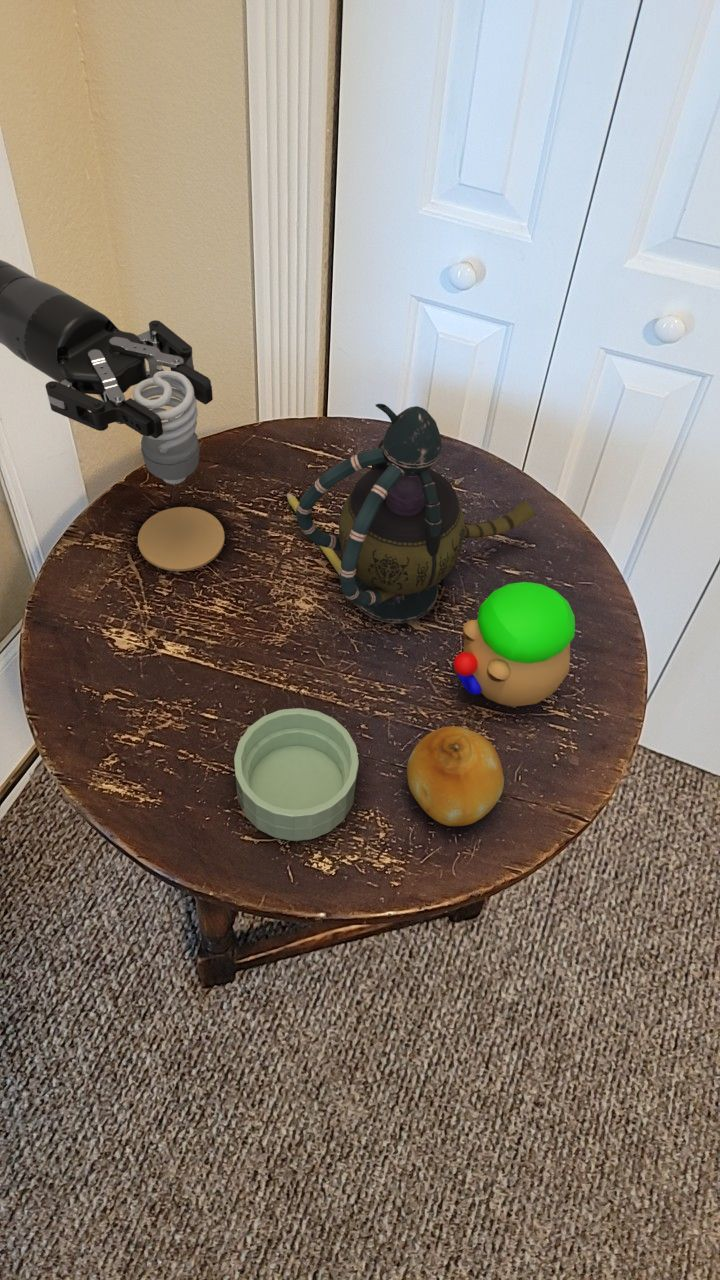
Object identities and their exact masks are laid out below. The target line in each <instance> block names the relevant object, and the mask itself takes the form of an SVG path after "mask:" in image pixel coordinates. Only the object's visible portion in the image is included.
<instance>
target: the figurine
mask: <svg viewBox="0 0 720 1280" xmlns="http://www.w3.org/2000/svg"><path fill="white" fill-rule="evenodd" d="M477 613H478V614H477V618H476V619H471V620H468V621H466V622H465V623H464V624H463V626H462V627H463V628H462V633H461V634H462V636H463V638H464V639H463V649H462V650H463V652H460V653H458V654H457V655H456V656H455V657H454V659H453V669H454V671H455V672H456V674H457V677H458V679H459V681H460V682H461V685H462V686H463V687H464V689H465V690H466V691H467V692H468V693H469V694H471V695H474V696H476V695H477V696H478V695H480V694H482V695H483V697H485V698H486V699H487V700H490V701H492V702H494V703H496V704H499V705H503V706H507V707H510V708H515V707H522V706H524V707H525V706H530V705H531V706H532V705H536V704H538V703H540V702H542V701H543V700H545V699H547V698H548V697H550V696H552V695H553V694H554V693H555V692H556V690H557V689H558V688H559V687H560V685H561V684H562V683H563V681H564V680H565V678H566V677H567V676H568V674H569V673H570V668H571V667H570V664H571V642H572V641H573V639H574V638H575V637H576V636H575V635H576V620H575V614H574V612H573V610H572V607H571V605H570V603H569V601H568V600H567V599H566V598H565V597H564V596H563V595H561V594H560V592H558V591H557V590H555V589H554V588H551V587H548V586H547V585H544V584H542V583H536V582H529V581H520V582H513V583H507V584H505V585H503V586H501V587H500V588H497V589H496V590H493V591H492V592H491V593H490V594H489V596H487V598H486V599H485V600H484V601H483V603H482V604H480V605H479V607H478V612H477Z"/></svg>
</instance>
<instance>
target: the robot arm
mask: <svg viewBox="0 0 720 1280" xmlns="http://www.w3.org/2000/svg"><path fill="white" fill-rule="evenodd" d="M148 327H149V329H148V330H147V331H145V332H142V333H139V334H138V335H137V334H135V333H133V332H129V331H124V330H120V329H119V328H118V327H117V326H116V325H115V324H114V323H113V321H112V320H111V319H110V318H109V317H108V316H106V315H105V314H104V313H102V312H100V311H98V310H97V309H95V308H93V307H92V306H90V305H88V304H86V303H84V302H83V301H81V300H79V299H77V298H76V297H74V296H72V295H71V294H69V293H67V292H65V291H64V290H62V289H60V288H58V287H57V286H54V285H53V284H50V283H47V282H45V281H42V280H39V279H37V278H35V277H34V276H32V275H31V274H29V273H27V272H25V271H23V270H21V269H20V268H19V267H17V266H15V265H13V264H11V263H10V262H7V261H6V260H2V259H0V344H1V345H3V346H4V347H6V349H8V350H9V351H10V352H11V353H12V354H13V355H15V356H16V357H17V358H19V359H20V360H22V361H24V362H25V363H27V364H29V366H32V367H33V368H35V369H36V370H38V371H40V372H41V373H43V374H44V375H46V376H48V377H49V378H51V379H52V381H51V380H50V381H48V382H46V383H45V391H46V394H47V398H48V402H49V407H50V410H51V411H52V412H54V413H57V414H59V415H61V416H63V417H66V418H68V419H71V420H73V421H75V422H77V423H79V424H82V425H84V426H86V427H89V428H91V429H93V430H96V431H100V432H103V431H106V430H107V429H108V428H109V425H110V424H113V423H116V424H118V425H125V426H127V427H128V428H130V429H132V430H133V431H135V432H136V433H138V434H140V435H141V436H143V435H144V436H152V437H153V438H158V437H159V436H161V435H162V434H163V429H162V422H163V421H161V418H160V417H159V416H158V415H157V414H156V413H154V412H153V411H151V410H152V409H148V408H146V407H144V406H143V405H141V404H139V403H138V402H136V401H135V400H134V398H131V397H129V398H128V399H126V396H125V395H124V393H126V392H127V391H128V390H129V389H130V388H131V387H133V386H136V385H137V384H139V383H140V382H141V381H144V380H146V379H149V378H153V376H154V374H156V373H157V372H159V371H165V370H164V368H163V367H167V368H169V369H170V371H175V372H178V373H181V374H183V375H184V376H185V377H186V378H187V379H188V380H189V381H190V382H191V384H192V386H193V388H194V395H195V397H196V401H198V402H200V403H201V404H203V405H208V404H209V403H211V402H212V401H213V399H214V397H213V386H212V380H211V379H210V378H209V377H208V376H207V375H205V374H203V373H201V372H200V371H198V370H196V369H195V365H194V358H193V347H192V346H191V345H190V344H189V343H188V342H186V341H185V340H184V339H182V337H180V336H179V335H178V334H176V333H175V332H174V331H173V330H172V329H170V328H169V327H168V326H166V325H165V324H164V323H163V322H162V321H160V320H157V319H155V320H151V321H150V322H148ZM146 361H147V363H148V370H147V364H146ZM155 387H158V386H157V385H156V386H155ZM91 395H97V397H99V398H96V397H94V396H91Z"/></svg>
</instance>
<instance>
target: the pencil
mask: <svg viewBox="0 0 720 1280" xmlns="http://www.w3.org/2000/svg"><path fill="white" fill-rule="evenodd" d="M285 494H286V498H287V502H288V504H289V506H290V507H291V508H292V510H293V512H294V513H296V510H297V507H298V504H299V502H300V501H299V500H298V499H297V498H296V496H294V495H293V494H291V493H289V491H287V490H285ZM315 526H316V524H315ZM316 527H317V526H316ZM317 529H319V528H318V527H317ZM318 547H319V548H320V549H321V551H322V553H323V554H324V555H325V557H326V558H327V560H328V561H329V562H330V564H331V566H332V567H333V568H334V570H335V571H336V573H337V574H338V576H339V577H340V569H341V561H342V560H341V559H340V558H339V556H338V555H337V553H336V552H335V550H333V549H330V548H326V547H323V546H319V545H318Z"/></svg>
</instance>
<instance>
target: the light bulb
mask: <svg viewBox="0 0 720 1280" xmlns="http://www.w3.org/2000/svg"><path fill="white" fill-rule="evenodd" d="M156 385H157V386H156ZM155 396H157V397H155ZM132 399H133V400H135V401H136V402H138V403H139V404H141V405H143V406H144V407H146V408H148V409H149V410H151V411H153V412H154V413H156V414H157V415H158V416H159V417H160V418H161V421H162V429H163V434H162V435H161V436H159V437H158V438H153V437H152V436H144V435H142V437H141V441H140V447H141V448H140V451H141V453H142V458H143V461H144V464H145V468H146V470H147V471H148V472H149V473H150V474H152V476H154V477H156V478H158V479H161V480H162V481H163V482H165V483H166V484H168V485H178V484H181V483H183V482H184V481H185V480H186V479H187V477H188V476H191V475H192V474H193V473H194V472H195V471H196V470H197V468H198V466H199V463H200V447H201V446H200V442H199V438H198V434H197V433H196V430H197V425H198V416H199V415H198V414H199V413H198V407H197V404H198V403H197V400H196V397H195V395H194V388H193V386H192V384H191V382H190V381H189V380H188V379H187V378H186V377H185V376H184V375H183V374H181V373H178V372H175V371H171V370H164V371H159V372H157V373H156V374H154V376H153V378H149V379H146V380H144V381H141V382H140V383H138V384H136V385H134V388H133V390H132ZM163 407H171V408H170V409H166V408H163Z"/></svg>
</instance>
